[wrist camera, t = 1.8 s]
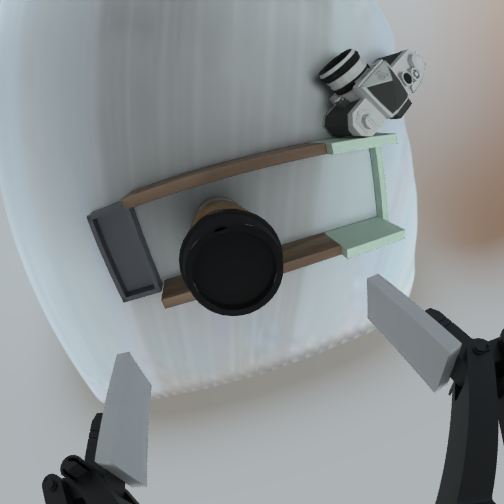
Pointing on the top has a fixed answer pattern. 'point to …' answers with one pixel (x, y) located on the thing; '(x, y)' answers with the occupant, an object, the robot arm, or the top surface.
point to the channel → (293, 252)
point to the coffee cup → (231, 258)
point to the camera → (369, 91)
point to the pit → (125, 251)
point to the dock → (378, 228)
